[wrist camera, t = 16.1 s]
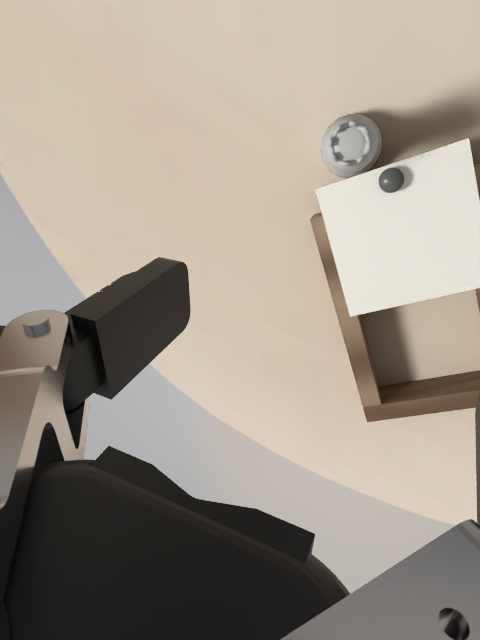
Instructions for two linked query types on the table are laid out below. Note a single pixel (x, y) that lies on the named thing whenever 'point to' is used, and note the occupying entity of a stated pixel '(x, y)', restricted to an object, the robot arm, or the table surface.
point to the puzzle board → (374, 399)
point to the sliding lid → (406, 229)
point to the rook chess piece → (351, 145)
